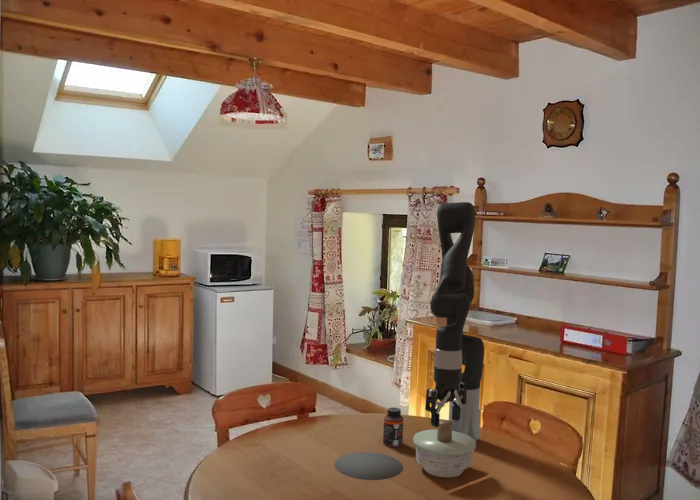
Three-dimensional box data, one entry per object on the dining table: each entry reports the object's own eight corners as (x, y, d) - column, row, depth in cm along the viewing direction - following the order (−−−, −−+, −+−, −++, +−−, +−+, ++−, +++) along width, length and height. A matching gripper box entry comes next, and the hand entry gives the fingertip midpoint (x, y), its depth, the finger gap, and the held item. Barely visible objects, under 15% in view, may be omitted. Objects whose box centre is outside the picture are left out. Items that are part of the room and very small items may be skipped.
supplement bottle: (401, 450, 186) (402, 413, 185) (381, 448, 187) (382, 411, 186) (403, 443, 192) (405, 407, 191) (384, 441, 193) (385, 405, 192)
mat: (371, 449, 186) (371, 447, 186) (417, 470, 171) (417, 468, 171) (320, 464, 173) (320, 461, 173) (365, 488, 159) (365, 486, 159)
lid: (441, 428, 183) (442, 408, 183) (488, 446, 170) (489, 425, 169) (400, 440, 172) (401, 419, 172) (446, 460, 159) (447, 437, 159)
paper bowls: (431, 456, 182) (432, 430, 181) (480, 470, 173) (481, 442, 173) (404, 473, 170) (406, 444, 169) (455, 488, 161) (456, 458, 160)
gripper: (454, 358, 177) (452, 414, 178) (419, 365, 168) (417, 424, 169) (475, 364, 171) (472, 421, 172) (440, 371, 162) (438, 432, 163)
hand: (445, 423), depth 171 cm, fingers open, 8 cm apart
